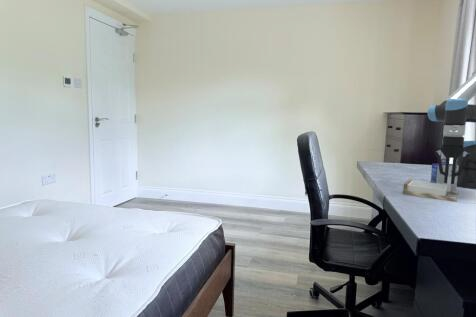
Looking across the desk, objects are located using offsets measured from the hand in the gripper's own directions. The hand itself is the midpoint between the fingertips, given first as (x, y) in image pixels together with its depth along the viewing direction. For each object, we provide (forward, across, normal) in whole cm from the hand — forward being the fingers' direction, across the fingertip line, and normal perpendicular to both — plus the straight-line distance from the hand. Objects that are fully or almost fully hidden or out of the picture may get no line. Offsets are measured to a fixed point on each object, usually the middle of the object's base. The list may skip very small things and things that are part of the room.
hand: (448, 191), depth 139 cm
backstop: (+2, -6, 0) cm, 7 cm away
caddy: (+2, -8, 0) cm, 8 cm away
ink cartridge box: (+3, -3, +16) cm, 17 cm away
